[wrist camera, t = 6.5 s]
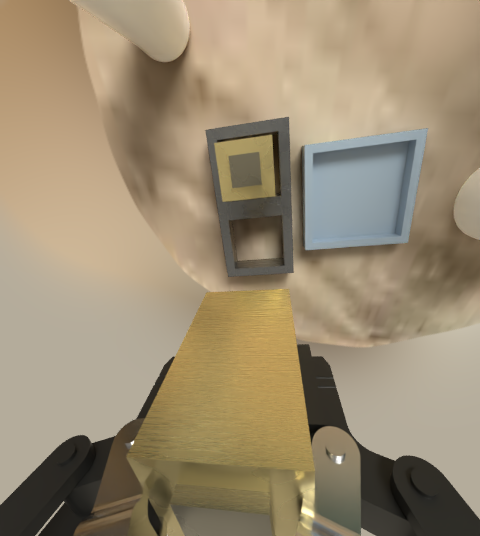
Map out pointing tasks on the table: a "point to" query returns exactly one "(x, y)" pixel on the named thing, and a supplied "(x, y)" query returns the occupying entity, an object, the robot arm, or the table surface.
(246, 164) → the square peg
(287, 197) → the frame
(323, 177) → the parts tray
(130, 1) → the white tapered cylinder
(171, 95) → the table surface
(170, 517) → the gold square peg
